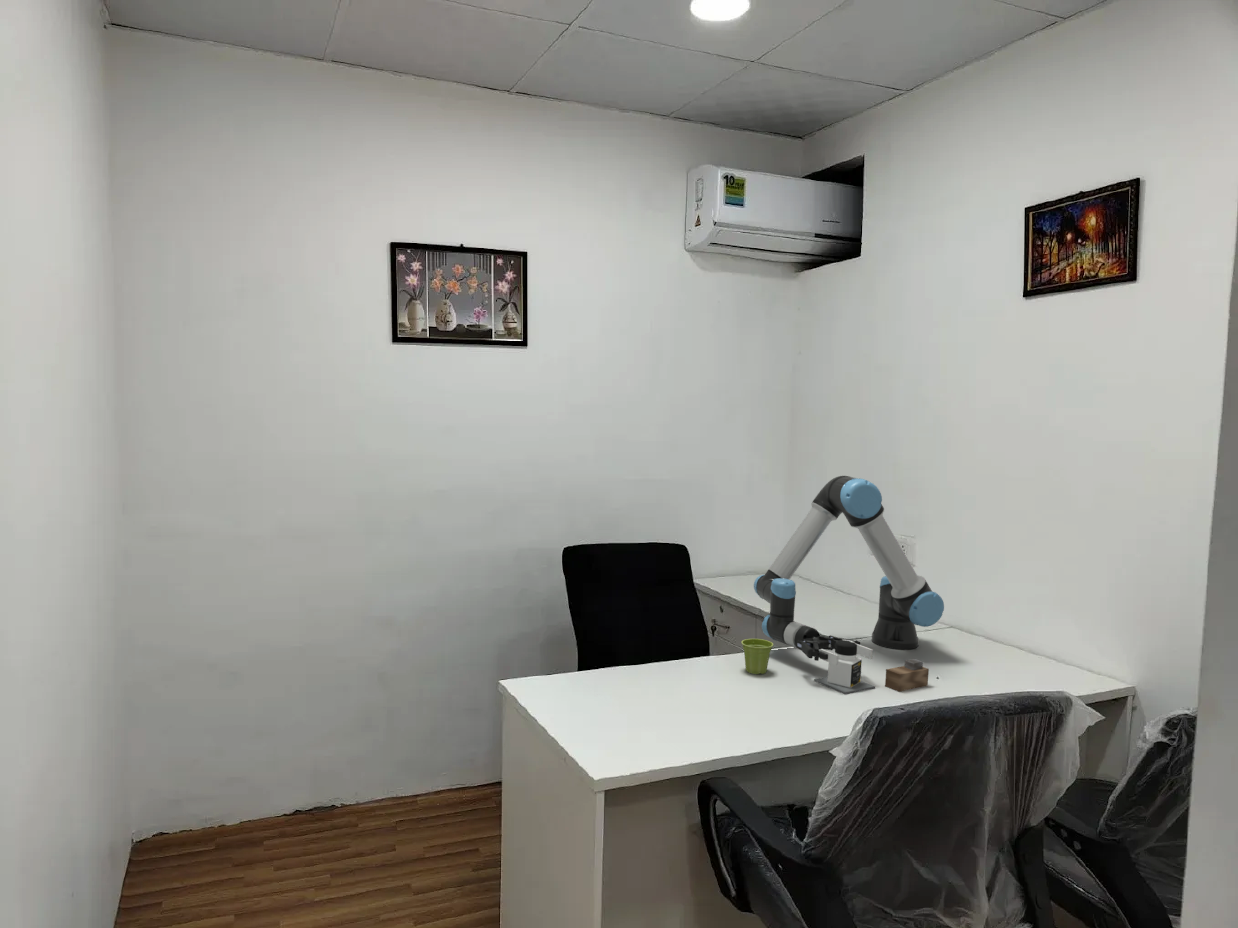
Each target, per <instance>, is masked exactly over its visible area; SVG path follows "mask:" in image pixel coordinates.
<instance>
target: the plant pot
mask: <svg viewBox="0 0 1238 928" xmlns="http://www.w3.org/2000/svg"><path fill="white" fill-rule="evenodd" d="M741 645H742V648H743V653H744V665H745V671H747V673H749V674H753V675H759V674H761V675H763V674H766V673H767V671H768V665H769V659H770V654H771V651H772V648H773V647H774V643H773V642H772V641H769V640H767V639H762V638H746V639H743V640H741Z"/></svg>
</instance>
